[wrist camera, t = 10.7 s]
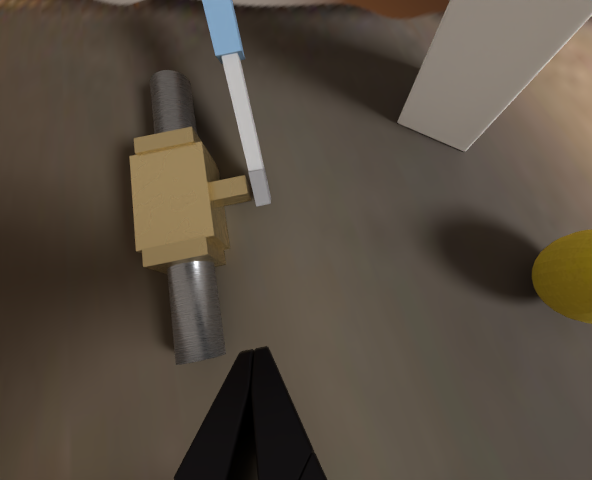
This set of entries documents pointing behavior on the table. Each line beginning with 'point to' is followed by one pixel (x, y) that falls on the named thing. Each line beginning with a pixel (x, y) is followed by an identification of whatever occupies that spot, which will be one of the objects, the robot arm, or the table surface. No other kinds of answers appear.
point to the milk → (485, 63)
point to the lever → (237, 89)
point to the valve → (183, 216)
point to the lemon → (566, 276)
